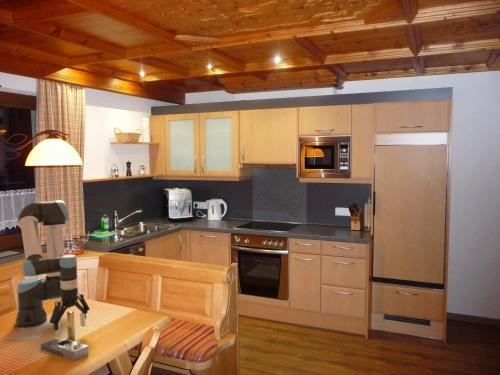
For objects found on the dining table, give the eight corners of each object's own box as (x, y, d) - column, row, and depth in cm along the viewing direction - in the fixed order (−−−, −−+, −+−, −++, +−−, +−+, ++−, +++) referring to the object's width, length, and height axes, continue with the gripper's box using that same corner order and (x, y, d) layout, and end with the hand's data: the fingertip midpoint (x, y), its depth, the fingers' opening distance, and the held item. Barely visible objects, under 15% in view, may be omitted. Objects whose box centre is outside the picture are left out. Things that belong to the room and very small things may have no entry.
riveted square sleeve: (40, 348, 192) (40, 339, 192) (54, 342, 198) (54, 333, 198) (74, 360, 180) (74, 350, 180) (88, 354, 186) (87, 344, 186)
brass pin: (66, 341, 200) (65, 312, 199) (72, 338, 202) (70, 310, 201) (70, 342, 198) (69, 313, 197) (76, 340, 201) (75, 311, 200)
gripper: (50, 296, 186) (52, 342, 187) (95, 282, 207) (97, 323, 209) (39, 294, 190) (42, 339, 191) (85, 279, 211) (87, 320, 213)
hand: (71, 331), depth 200 cm, fingers open, 13 cm apart
